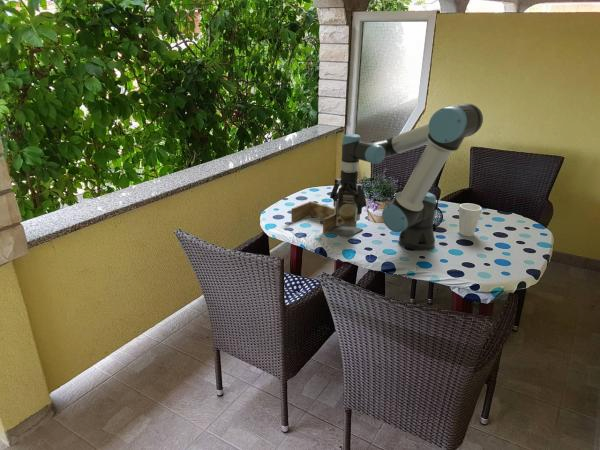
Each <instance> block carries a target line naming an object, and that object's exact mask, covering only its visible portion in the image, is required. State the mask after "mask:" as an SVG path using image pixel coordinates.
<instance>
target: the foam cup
mask: <svg viewBox="0 0 600 450" xmlns="http://www.w3.org/2000/svg"><path fill="white" fill-rule="evenodd" d="M482 210H483V208H482V206H480V204H479V205H478V204H475V203H469V202H467V203H461V204H459V207H458V211H459V212H458V215H459V216H458V234H460V236H464V237H473V236H474V234H475V231H476V228H477V226H478V222H479V219H480V215H481V214H482Z"/></svg>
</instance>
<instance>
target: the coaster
mask: <svg viewBox="0 0 600 450" xmlns="http://www.w3.org/2000/svg"><path fill="white" fill-rule="evenodd" d="M363 229H364V228H361V227H357V226H356V227H346V226H339V227H337V228H335V229H333V230H331V231H329V233H330V234H332V235H335V236H339V237H341V238H345V239H350V238H351V237H353V236H355V235H358V234H359V233H362V232H363Z"/></svg>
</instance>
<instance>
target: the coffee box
mask: <svg viewBox="0 0 600 450" xmlns="http://www.w3.org/2000/svg"><path fill="white" fill-rule="evenodd" d="M338 191H339V193H338V207H337V221H336V226H346V227H357V222H358V221H355V212H356V207H357V205H356V202H355V200H354V194H352V193H351V192H349V191H345V190H340V187H339V188H338ZM353 191H354V190H353ZM355 195H356V196H357V198H359V195H358V189H357V193H355Z"/></svg>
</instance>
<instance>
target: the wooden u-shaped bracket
mask: <svg viewBox="0 0 600 450" xmlns="http://www.w3.org/2000/svg"><path fill="white" fill-rule="evenodd" d="M334 209H335V207H332V206H329V205H324V204H321V203H319V202H314V201H312V200H311V201H308V202H305V203H303V204H300V205H297V206H295V207H292V208H291V217H290V218H291V219H290V220H291V222H290V223H292V224H294V223H297V222H299V221H302V220H304V219H306V218H309V217H313V218H317V219H319V220H323V221H322V234H327V233H330V231H331V230H333V229H335V228H337V227H339V226H336V221H337V215H334Z"/></svg>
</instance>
